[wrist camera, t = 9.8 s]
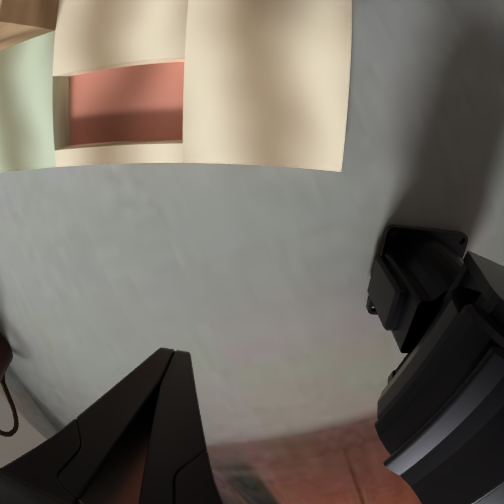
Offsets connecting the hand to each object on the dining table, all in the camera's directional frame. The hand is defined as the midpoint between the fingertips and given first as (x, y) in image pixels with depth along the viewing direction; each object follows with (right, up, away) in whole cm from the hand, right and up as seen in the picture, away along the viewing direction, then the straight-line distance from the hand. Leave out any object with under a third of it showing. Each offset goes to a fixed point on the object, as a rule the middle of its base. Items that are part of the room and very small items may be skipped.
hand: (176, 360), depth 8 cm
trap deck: (-5, +19, +4) cm, 20 cm away
